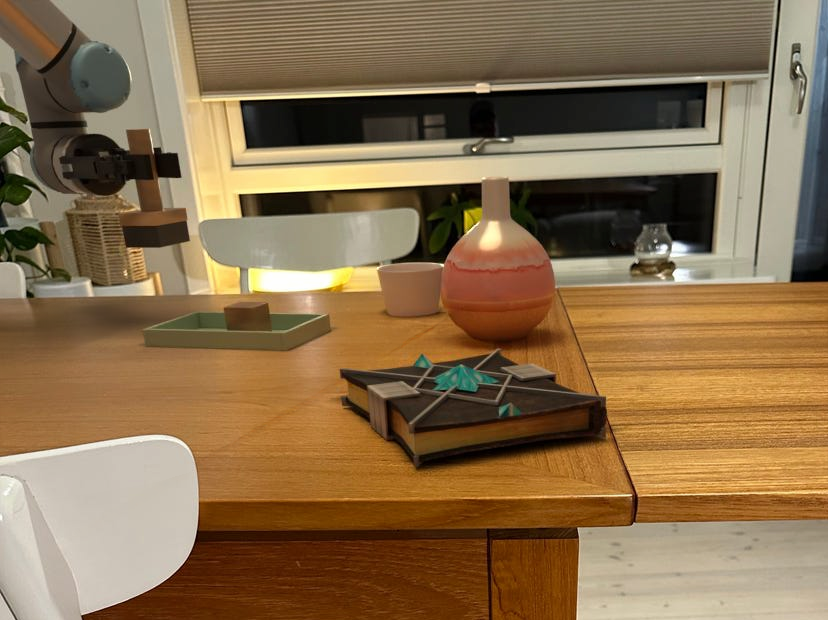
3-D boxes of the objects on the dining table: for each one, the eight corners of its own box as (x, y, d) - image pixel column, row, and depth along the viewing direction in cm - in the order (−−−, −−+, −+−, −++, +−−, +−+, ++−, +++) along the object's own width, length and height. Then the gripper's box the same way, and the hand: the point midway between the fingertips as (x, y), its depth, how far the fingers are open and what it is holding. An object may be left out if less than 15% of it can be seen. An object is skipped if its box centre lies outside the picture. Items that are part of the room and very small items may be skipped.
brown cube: (228, 341, 117) (223, 307, 115) (244, 334, 121) (239, 301, 119) (257, 342, 116) (252, 307, 114) (272, 335, 120) (268, 302, 118)
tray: (146, 351, 117) (142, 329, 115) (199, 331, 127) (196, 311, 126) (287, 355, 111) (284, 332, 110) (331, 334, 122) (329, 313, 120)
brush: (124, 247, 119) (101, 130, 113) (156, 241, 126) (136, 129, 119) (160, 247, 118) (139, 129, 112) (191, 241, 124) (172, 128, 118)
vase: (577, 339, 114) (579, 175, 105) (477, 354, 108) (471, 183, 100) (517, 322, 124) (515, 172, 116) (424, 336, 119) (414, 179, 110)
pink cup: (393, 324, 126) (389, 274, 123) (371, 314, 134) (367, 266, 131) (455, 317, 129) (453, 267, 126) (431, 307, 137) (428, 260, 134)
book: (608, 439, 78) (609, 378, 76) (413, 471, 73) (409, 406, 70) (502, 384, 96) (501, 332, 94) (339, 406, 91) (334, 352, 88)
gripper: (152, 191, 136) (228, 196, 120) (39, 199, 127) (104, 205, 111) (142, 131, 132) (218, 128, 116) (24, 136, 124) (89, 133, 108)
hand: (162, 166), depth 114 cm, fingers closed on brush, 3 cm apart
